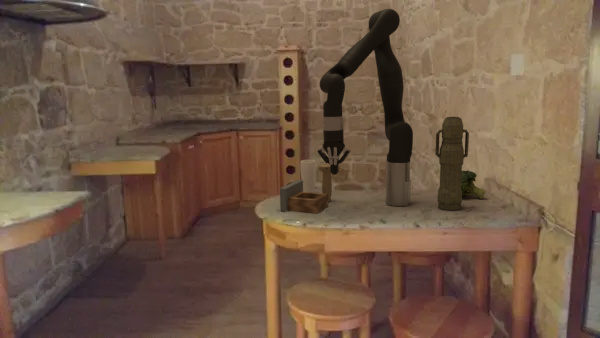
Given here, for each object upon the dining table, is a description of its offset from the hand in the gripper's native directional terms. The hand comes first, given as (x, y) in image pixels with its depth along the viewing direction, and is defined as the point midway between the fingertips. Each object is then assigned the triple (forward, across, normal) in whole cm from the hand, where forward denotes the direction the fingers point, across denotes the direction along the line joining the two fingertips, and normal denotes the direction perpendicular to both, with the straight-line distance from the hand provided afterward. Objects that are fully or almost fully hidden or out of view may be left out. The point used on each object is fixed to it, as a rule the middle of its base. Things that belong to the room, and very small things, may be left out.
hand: (334, 174), depth 180 cm
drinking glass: (+14, +20, -22) cm, 33 cm away
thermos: (+16, -40, -19) cm, 47 cm away
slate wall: (+14, +19, -1) cm, 23 cm away
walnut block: (+14, +11, 0) cm, 18 cm away
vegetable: (+16, -45, -39) cm, 62 cm away
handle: (+14, +8, -13) cm, 21 cm away
